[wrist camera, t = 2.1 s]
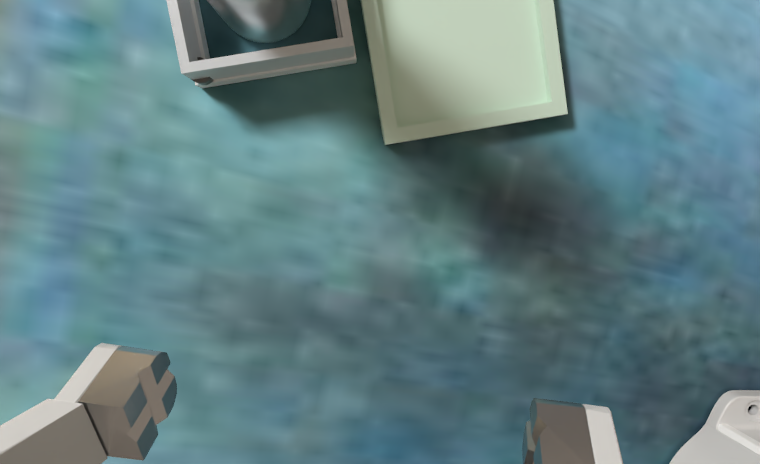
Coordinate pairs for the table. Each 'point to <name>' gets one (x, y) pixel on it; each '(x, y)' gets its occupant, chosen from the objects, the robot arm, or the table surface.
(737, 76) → the table surface
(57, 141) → the table surface
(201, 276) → the table surface
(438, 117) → the tray
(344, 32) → the housing
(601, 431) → the robot arm
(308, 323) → the table surface
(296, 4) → the silver thermos
